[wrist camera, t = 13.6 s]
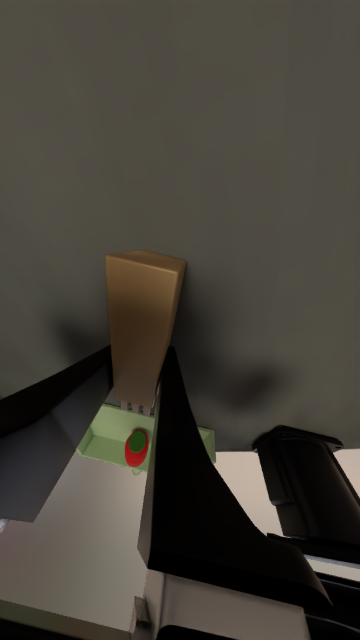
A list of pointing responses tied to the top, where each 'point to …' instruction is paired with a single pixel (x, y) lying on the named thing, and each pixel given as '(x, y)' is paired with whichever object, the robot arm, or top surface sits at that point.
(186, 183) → the top surface
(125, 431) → the tray
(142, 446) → the strawberry
